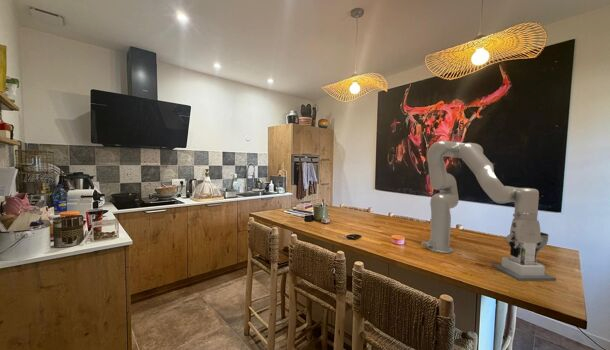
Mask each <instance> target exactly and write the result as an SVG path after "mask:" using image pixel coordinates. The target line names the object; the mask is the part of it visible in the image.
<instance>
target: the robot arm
mask: <svg viewBox="0 0 610 350" xmlns="http://www.w3.org/2000/svg"><path fill="white" fill-rule="evenodd" d="M444 157H449V158H458V159H461V161H463V162H464V163H465V164H466V166H467V167H468V168H469V169H470V171H471V172H472V173H473V174H474V176H475V177H476V180H477V182H478V184H479V185H480V187H481V188H482V190H483V192H484V193H486V195H487V196H488V197H489V199H491V200H492V201H493V202H494V203H496V204H503V205H504V204H507V203H514V213H513V214H512V216H513V218H512V221H511V225H510V232H509V234H508V235H506V236H505V237H504V239H505V241H506V243H507V244H508V245H509V247H510V252H509V254H510V256H514V257H518V248H517V247H518V245H519V244H520V243H522V244H523V243H524V241H525V243H536V248H538V246H539V245H540V244H541V242H542V241H543V238H542V237H541V236H540V232H541V225H540V220H538V212H539V211H538V210H539V198H540V195H539V194H540V192H539V190H538V189H536V188H531V187H516V186H511V185H510V186H509V185H504V184H503V183H502V182H501V181H500V179H499V178H498V177H497V176H496V174H495V171H494V170H495V169H494V164H493V163H492V162H491V161H490V160H489V159H488V157H486V155H485V154H484V149H483V147H482V146H481V145H480V144H478V143H476V142H475V143H474V142H461V141H460V142H459V141H450V140H438V141H435V142H434V143H432V144H431V145H430V146H429V148H428V150H427V152H426V160H427V166H428V175H429V182H430V186H431V188H432V189H433V190H435V191H439V192H438V193H435V194H433V195H432V196H431V198H430V202H429V203H430V204H429V205H430V212H431V214H430V215H431V217H430V237H429V238H430V239H428V241H421V245H422V246H426V248H427V249H428V250H429V251H432V252H435V253H441V254H450V253H451V254H452V253H453V251H454V250H453V248H452V247H451V225H452V223H451V222H452V221H451V220H452V217H451V216H452V215H451V209H453V208H455V207H457V206H458V204H459V192H458V186H457V184H458V183H457V180H456V178H455V176H453V174H451V173H449V172H447V165H446V163H445V160H444ZM515 242H516V243H515ZM514 243H515V244H514ZM536 250H537V249H535V257H536ZM536 258H537V257H536Z"/></svg>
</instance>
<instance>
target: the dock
mask: <svg viewBox="0 0 610 350" xmlns="http://www.w3.org/2000/svg"><path fill="white" fill-rule="evenodd" d="M491 267H493V268H494V269H497V270H498V271H500V272H502V273H503V274H506V275H508V276H510V277H512V278H513V279H515V280H517V281H557V278H556V277H554V276H553V275H550V274H548V273H546V272H545V271H546V265H545V266H542V265H540V264H538V263H535V262H534V265H520V264H518V263H516V262H514V261H512V260H511V257H509V256H508V257H507V256H506V257H505V256H503V257H502V259H501V263H491Z"/></svg>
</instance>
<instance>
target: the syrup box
mask: <svg viewBox="0 0 610 350" xmlns="http://www.w3.org/2000/svg"><path fill="white" fill-rule="evenodd" d="M515 243H516V242H515ZM515 243H514V244H515ZM517 248H518V257H514V256H512V255H510V256H511V260H512V261H514V262H516V263H518V264H520V265H534V261H535V249H536V243H525V241H524V243H523V244H522V243H520V244H519V245H518V247H517Z"/></svg>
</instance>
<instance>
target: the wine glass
mask: <svg viewBox="0 0 610 350" xmlns="http://www.w3.org/2000/svg"><path fill="white" fill-rule="evenodd" d="M540 236H541V237H542V238H543V241H542V242H541V244H540V245H539V246H538V248H536V249H537V250H536V257H535V261H534V262H535V263H538V264H540V265H542V266H545V267H546V265H545V264H544V263H541V262H538V261H537V257H538V253H539V251H540V250H541V251H542V250H543V249H544V248H545V247H546V246H547V244H548V241H549V234H548V233H547V232H546V233H545V232H541V231H540Z"/></svg>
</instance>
